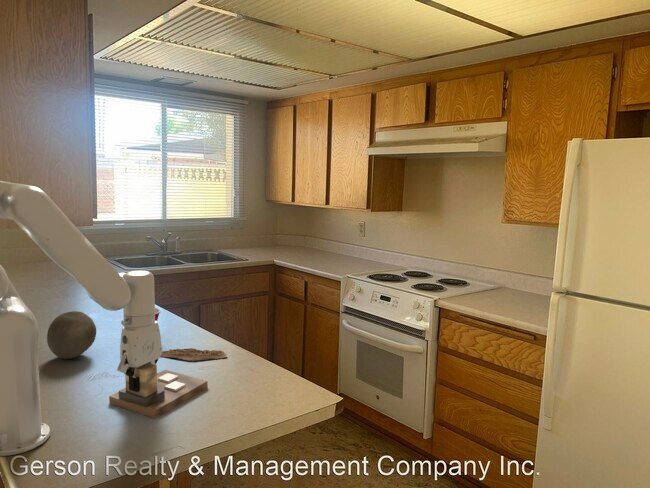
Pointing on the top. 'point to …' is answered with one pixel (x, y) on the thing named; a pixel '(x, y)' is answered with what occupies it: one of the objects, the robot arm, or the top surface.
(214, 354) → the wooden fragment
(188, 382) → the board
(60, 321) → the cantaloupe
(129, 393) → the block
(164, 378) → the tile
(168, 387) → the tile
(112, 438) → the top surface
